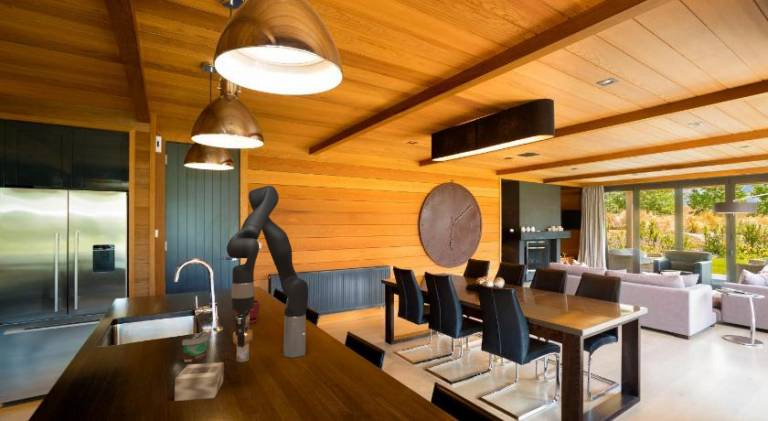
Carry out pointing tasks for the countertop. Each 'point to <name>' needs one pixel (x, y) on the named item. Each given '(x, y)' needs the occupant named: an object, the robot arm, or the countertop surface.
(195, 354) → the food container
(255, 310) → the plant pot
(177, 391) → the birch block
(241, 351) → the copper pin
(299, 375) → the countertop surface
